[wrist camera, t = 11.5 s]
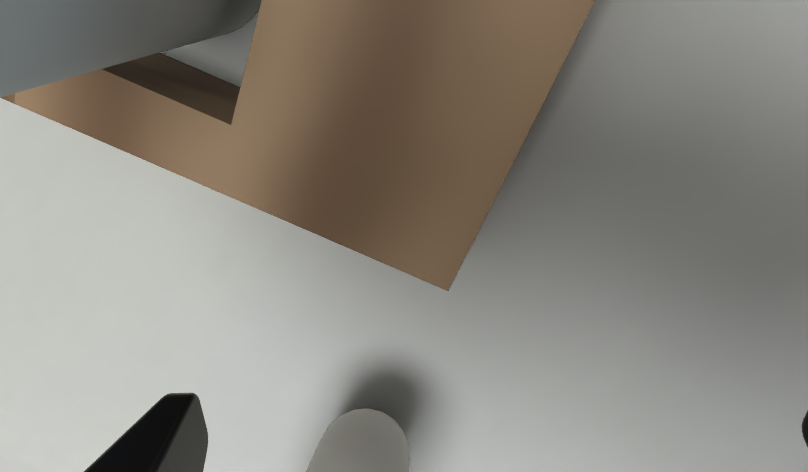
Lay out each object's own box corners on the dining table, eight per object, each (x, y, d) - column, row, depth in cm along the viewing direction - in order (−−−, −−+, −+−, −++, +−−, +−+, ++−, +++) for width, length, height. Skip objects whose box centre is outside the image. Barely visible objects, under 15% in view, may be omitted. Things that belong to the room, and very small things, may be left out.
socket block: (623, -89, 16) (644, -97, 13) (458, 247, 21) (448, 290, 18) (63, -334, 16) (-33, -393, 13) (34, 64, 21) (-38, 81, 18)
